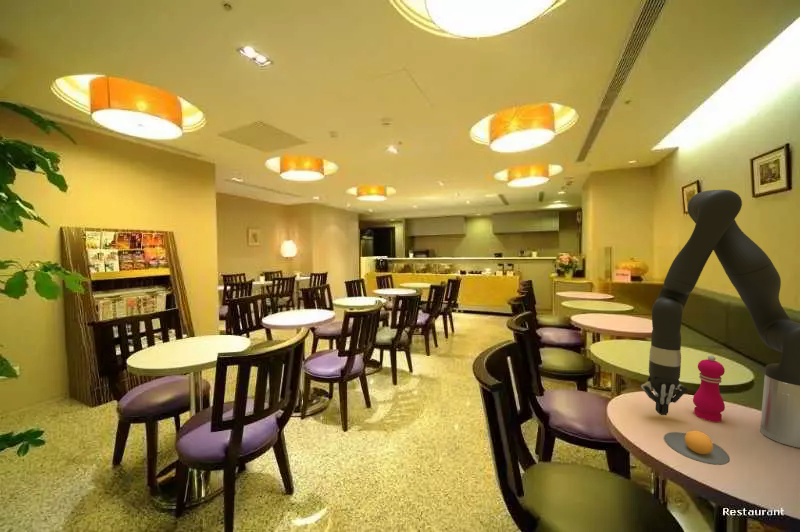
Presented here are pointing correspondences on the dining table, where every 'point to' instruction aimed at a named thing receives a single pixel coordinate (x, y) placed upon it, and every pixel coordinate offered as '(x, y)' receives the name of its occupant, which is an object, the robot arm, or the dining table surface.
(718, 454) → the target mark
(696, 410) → the pepper mill
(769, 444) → the dining table surface
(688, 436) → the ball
